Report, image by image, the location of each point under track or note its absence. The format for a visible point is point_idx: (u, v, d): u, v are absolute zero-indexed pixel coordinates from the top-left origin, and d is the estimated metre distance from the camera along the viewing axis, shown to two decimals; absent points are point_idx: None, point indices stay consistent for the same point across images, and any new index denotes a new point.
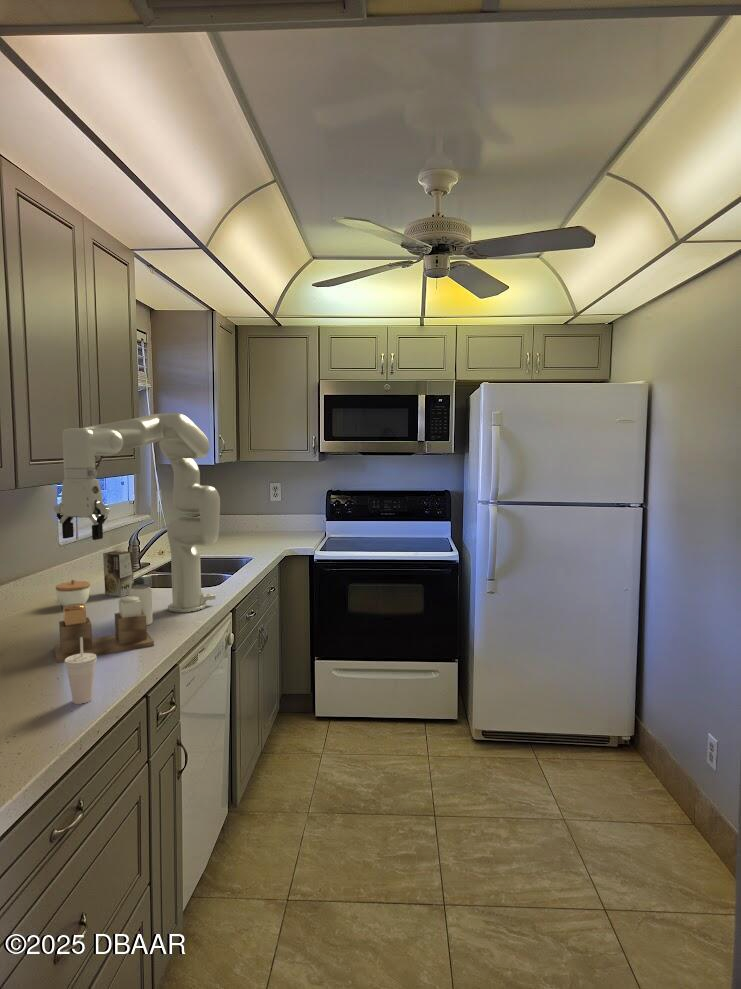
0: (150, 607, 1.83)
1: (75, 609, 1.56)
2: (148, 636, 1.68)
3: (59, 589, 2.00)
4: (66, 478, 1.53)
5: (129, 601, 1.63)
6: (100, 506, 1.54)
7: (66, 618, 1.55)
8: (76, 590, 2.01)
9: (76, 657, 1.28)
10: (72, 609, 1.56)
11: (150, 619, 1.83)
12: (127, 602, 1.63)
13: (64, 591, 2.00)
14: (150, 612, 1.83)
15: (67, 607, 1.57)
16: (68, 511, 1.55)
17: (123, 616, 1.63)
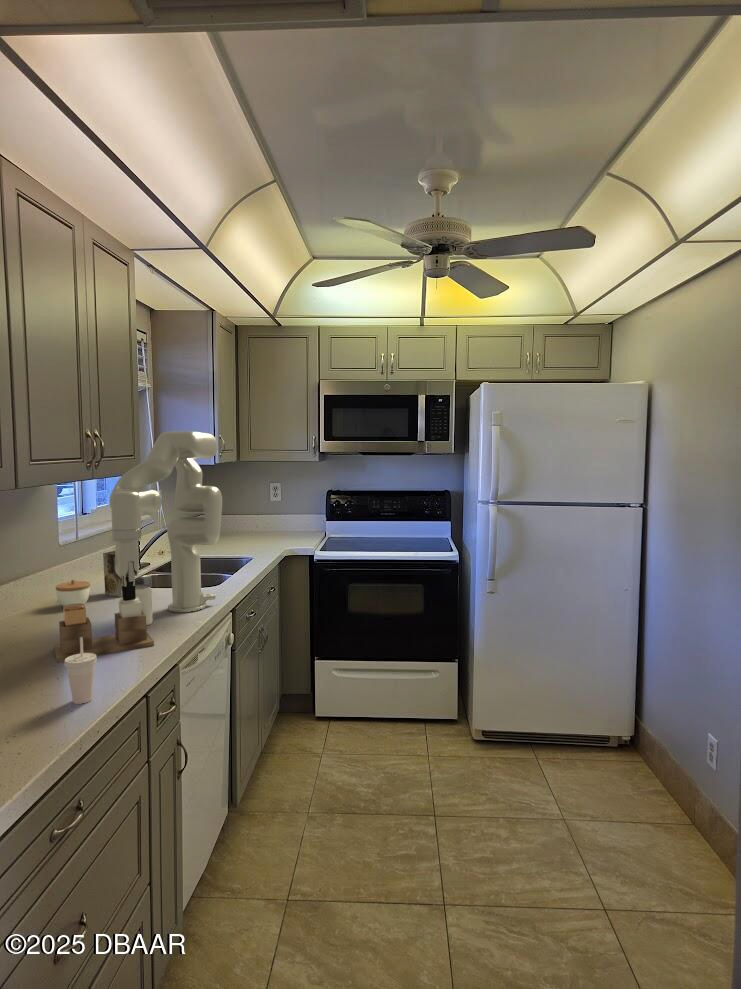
0: (150, 607, 1.83)
1: (75, 609, 1.56)
2: (148, 636, 1.68)
3: (59, 589, 2.00)
4: None
5: (129, 602, 1.63)
6: None
7: (66, 618, 1.55)
8: (76, 590, 2.01)
9: (76, 657, 1.28)
10: (72, 609, 1.56)
11: (150, 619, 1.83)
12: (127, 603, 1.63)
13: (64, 591, 2.00)
14: (150, 612, 1.83)
15: (67, 607, 1.57)
16: None
17: (123, 617, 1.63)
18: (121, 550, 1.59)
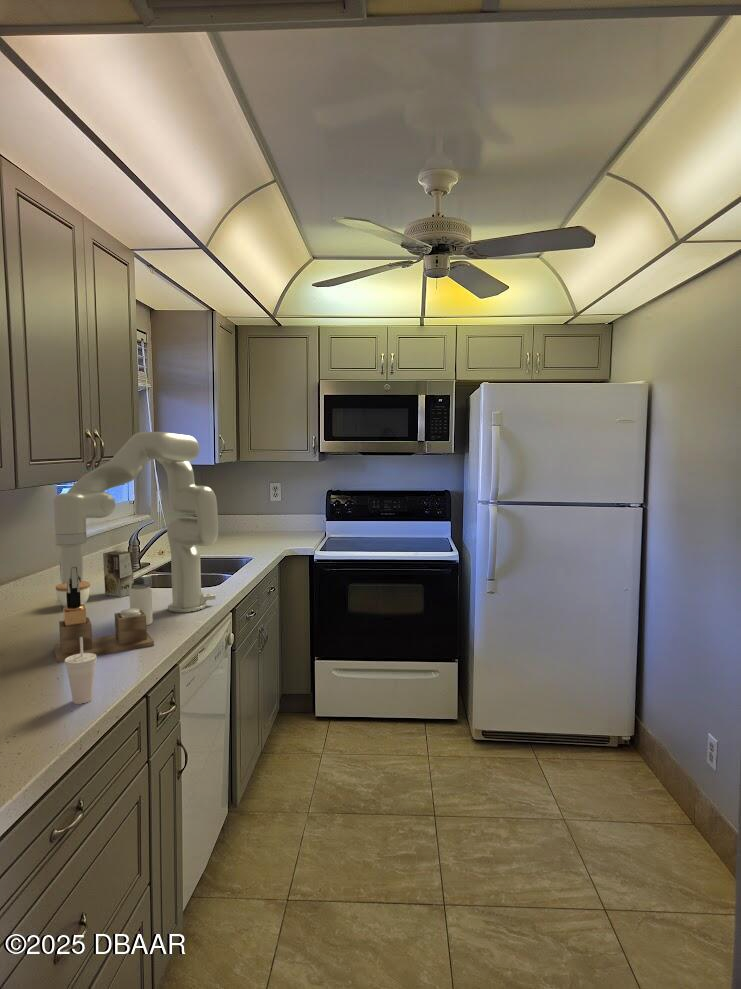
0: (150, 607, 1.83)
1: (75, 610, 1.56)
2: (148, 636, 1.68)
3: (59, 589, 2.00)
4: (86, 541, 1.58)
5: (129, 614, 1.64)
6: None
7: (66, 619, 1.55)
8: None
9: (76, 657, 1.28)
10: (72, 610, 1.56)
11: (150, 619, 1.83)
12: (128, 615, 1.63)
13: (64, 591, 2.00)
14: (150, 612, 1.83)
15: (67, 608, 1.57)
16: None
17: None
18: (63, 555, 1.52)
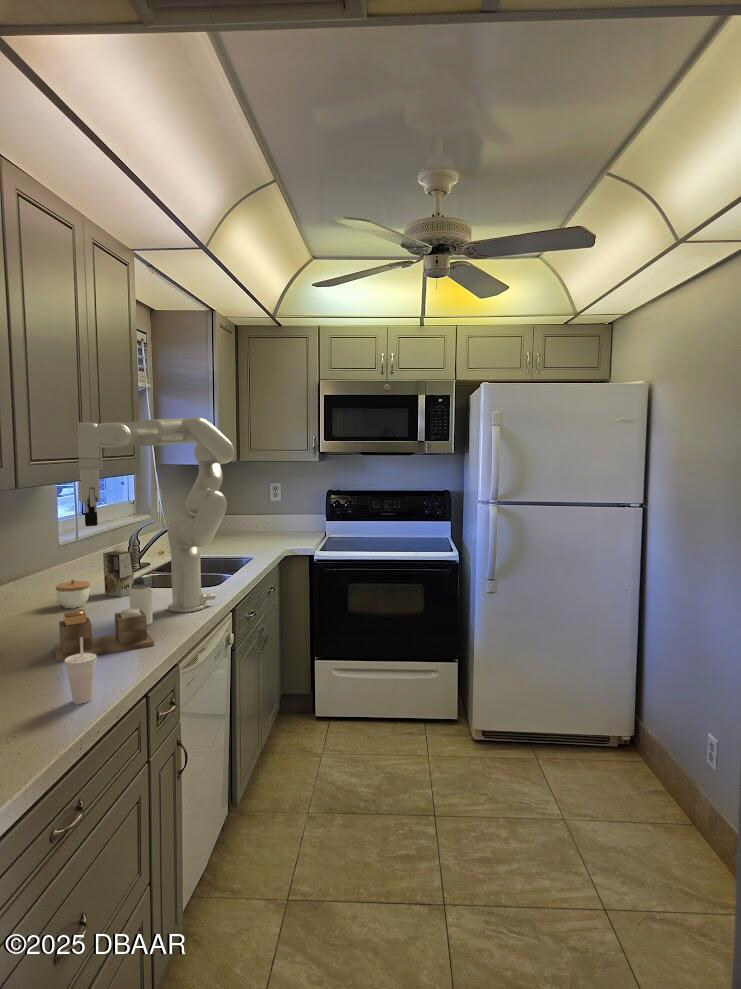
0: (150, 607, 1.83)
1: (75, 615, 1.56)
2: (148, 636, 1.68)
3: (59, 589, 2.00)
4: (102, 466, 1.75)
5: (129, 614, 1.64)
6: None
7: (66, 624, 1.55)
8: (76, 590, 2.01)
9: (76, 657, 1.28)
10: (72, 615, 1.56)
11: (150, 619, 1.83)
12: (128, 615, 1.63)
13: (64, 591, 2.00)
14: (150, 612, 1.83)
15: (67, 613, 1.57)
16: None
17: None
18: (82, 477, 1.69)
